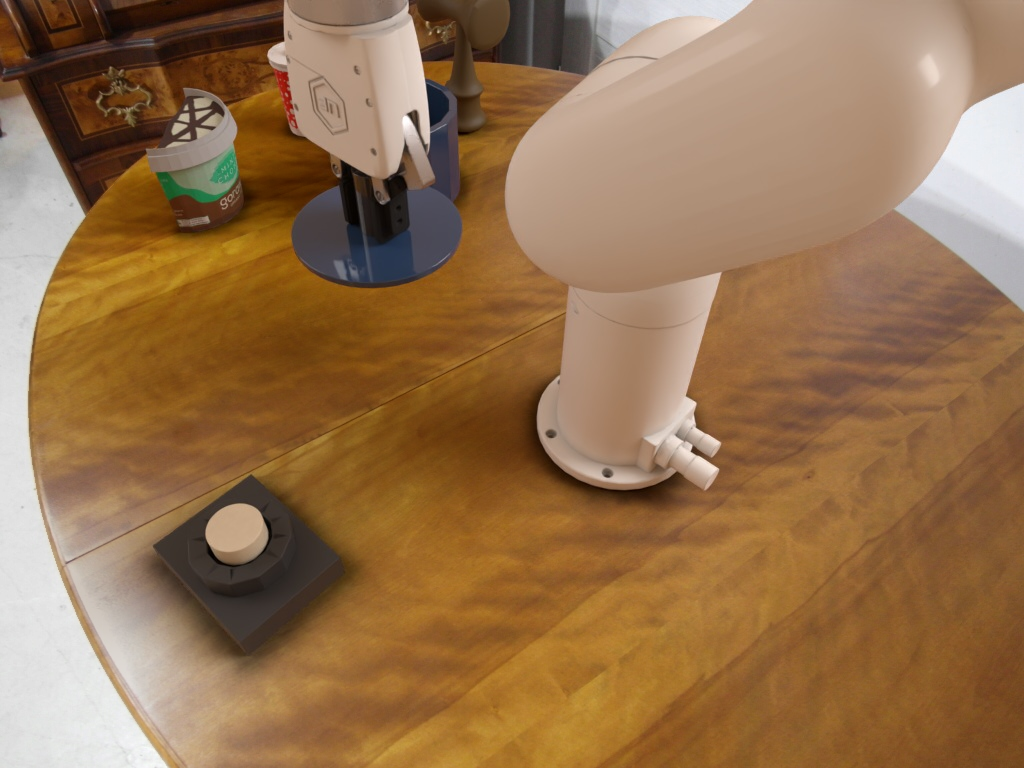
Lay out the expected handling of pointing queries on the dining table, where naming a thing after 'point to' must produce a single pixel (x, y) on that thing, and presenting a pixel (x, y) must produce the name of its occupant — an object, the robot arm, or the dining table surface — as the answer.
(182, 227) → the food container
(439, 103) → the jar
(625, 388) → the robot arm
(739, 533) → the dining table surface
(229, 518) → the release button
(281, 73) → the beverage cup
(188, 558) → the button block
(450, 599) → the dining table surface
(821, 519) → the dining table surface
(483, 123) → the kendama
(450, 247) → the jar lid
